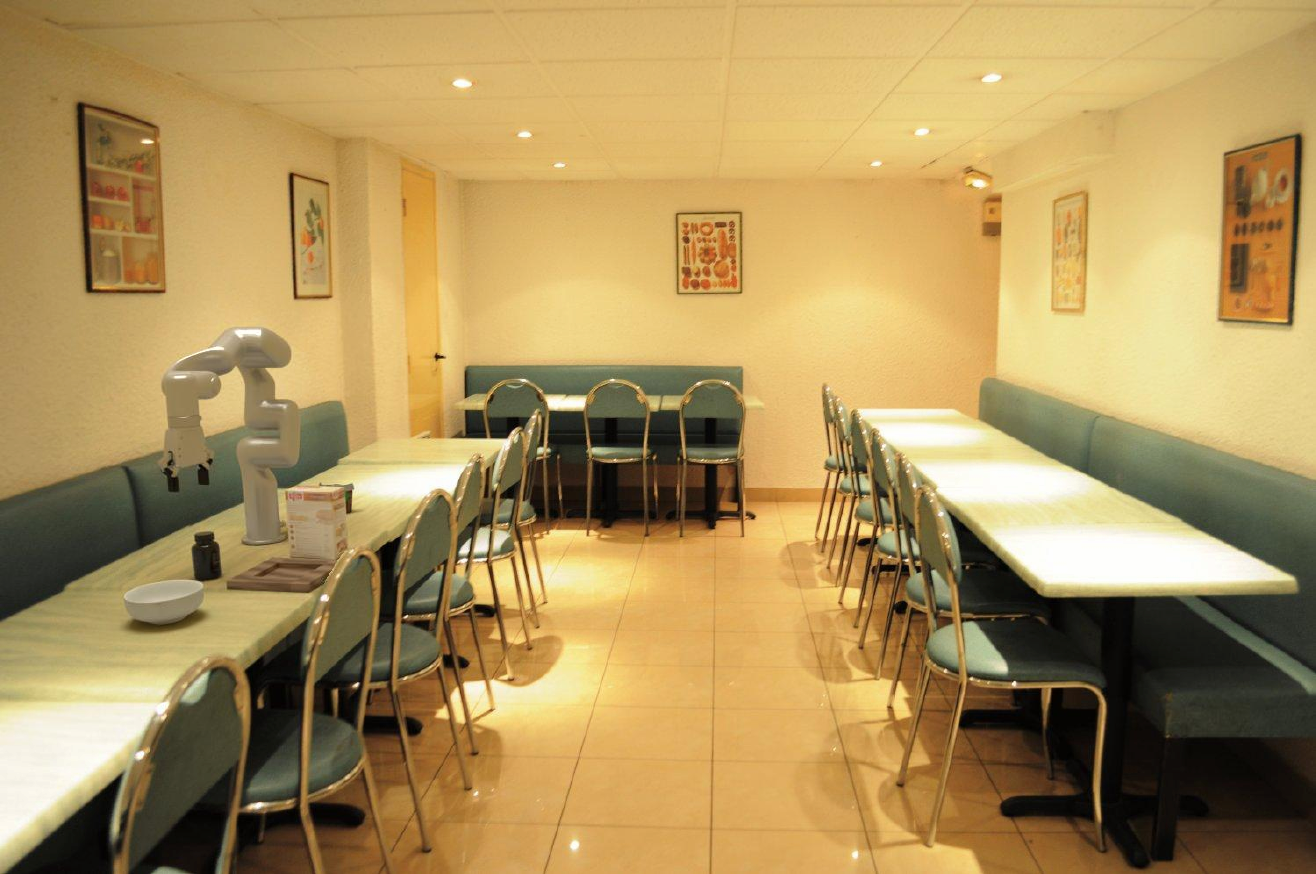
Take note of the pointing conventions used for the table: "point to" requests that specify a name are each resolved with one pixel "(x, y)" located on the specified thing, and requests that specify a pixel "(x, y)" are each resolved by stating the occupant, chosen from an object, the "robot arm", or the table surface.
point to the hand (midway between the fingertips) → (189, 488)
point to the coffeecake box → (316, 521)
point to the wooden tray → (284, 575)
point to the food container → (347, 494)
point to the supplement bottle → (206, 557)
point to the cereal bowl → (164, 601)
